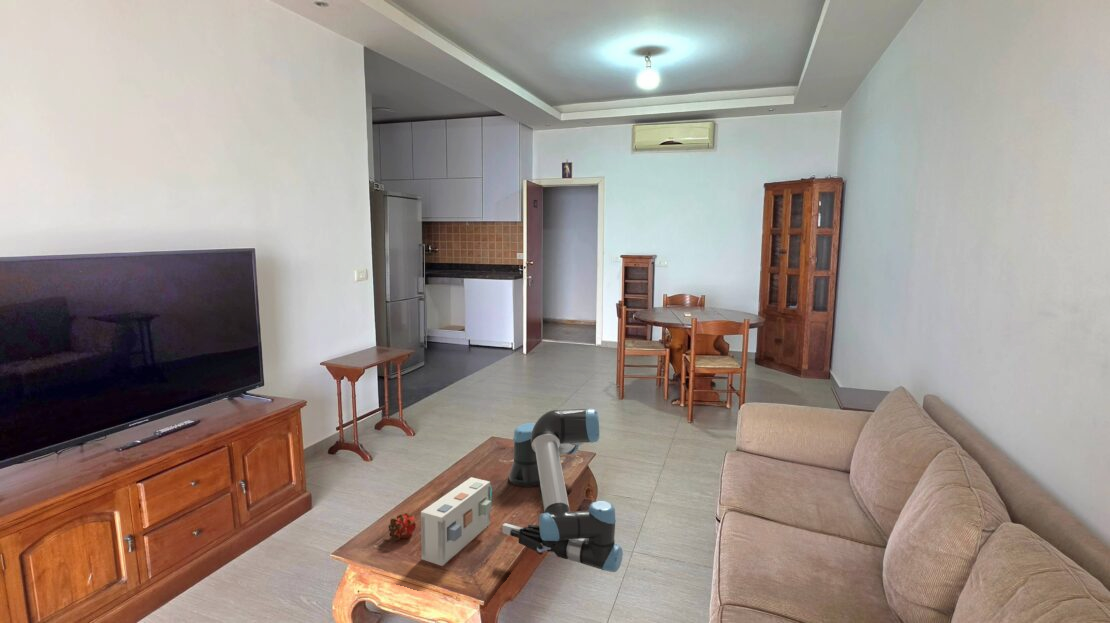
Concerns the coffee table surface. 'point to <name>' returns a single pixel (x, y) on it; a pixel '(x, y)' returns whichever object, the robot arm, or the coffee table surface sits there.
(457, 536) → the slate button
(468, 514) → the terracotta button
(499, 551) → the coffee table surface
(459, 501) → the button box
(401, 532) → the dragon fruit
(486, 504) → the sage button
